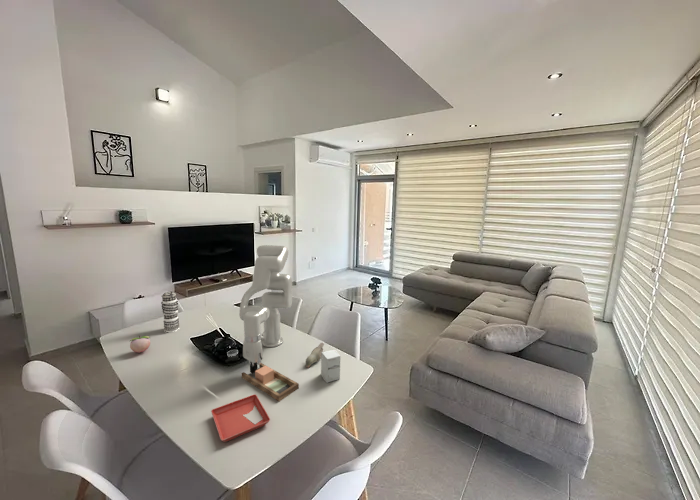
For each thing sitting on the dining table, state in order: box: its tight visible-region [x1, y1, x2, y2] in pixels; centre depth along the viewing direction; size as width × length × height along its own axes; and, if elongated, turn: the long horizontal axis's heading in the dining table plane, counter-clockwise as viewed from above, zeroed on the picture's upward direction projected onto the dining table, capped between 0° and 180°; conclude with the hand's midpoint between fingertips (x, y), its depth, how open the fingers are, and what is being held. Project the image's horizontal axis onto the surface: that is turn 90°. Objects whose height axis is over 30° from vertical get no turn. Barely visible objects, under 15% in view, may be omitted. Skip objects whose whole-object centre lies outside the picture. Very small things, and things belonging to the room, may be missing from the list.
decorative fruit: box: [129, 335, 151, 353], centre depth 163 cm, size 9×8×10 cm
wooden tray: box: [241, 362, 300, 402], centre depth 139 cm, size 27×11×3 cm, turn 54°
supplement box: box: [320, 349, 341, 384], centre depth 145 cm, size 7×7×13 cm
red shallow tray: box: [210, 393, 271, 443], centre depth 116 cm, size 18×18×3 cm
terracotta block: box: [255, 365, 275, 385], centre depth 141 cm, size 6×6×5 cm
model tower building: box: [160, 291, 180, 333], centre depth 190 cm, size 9×9×25 cm
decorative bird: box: [305, 342, 326, 369], centre depth 159 cm, size 5×16×8 cm, turn 155°
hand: (253, 371), depth 146 cm, fingers closed
